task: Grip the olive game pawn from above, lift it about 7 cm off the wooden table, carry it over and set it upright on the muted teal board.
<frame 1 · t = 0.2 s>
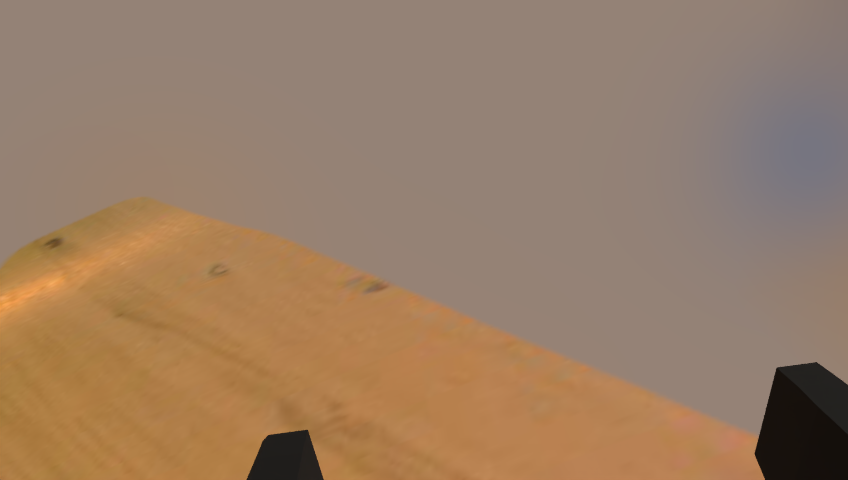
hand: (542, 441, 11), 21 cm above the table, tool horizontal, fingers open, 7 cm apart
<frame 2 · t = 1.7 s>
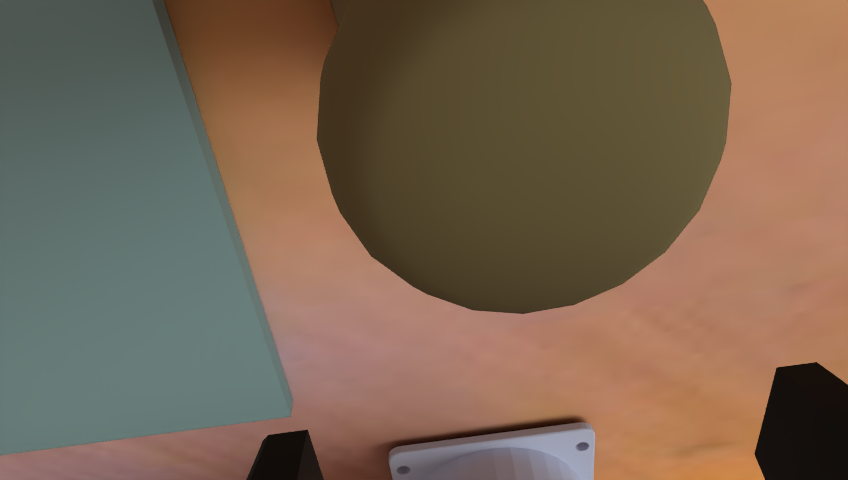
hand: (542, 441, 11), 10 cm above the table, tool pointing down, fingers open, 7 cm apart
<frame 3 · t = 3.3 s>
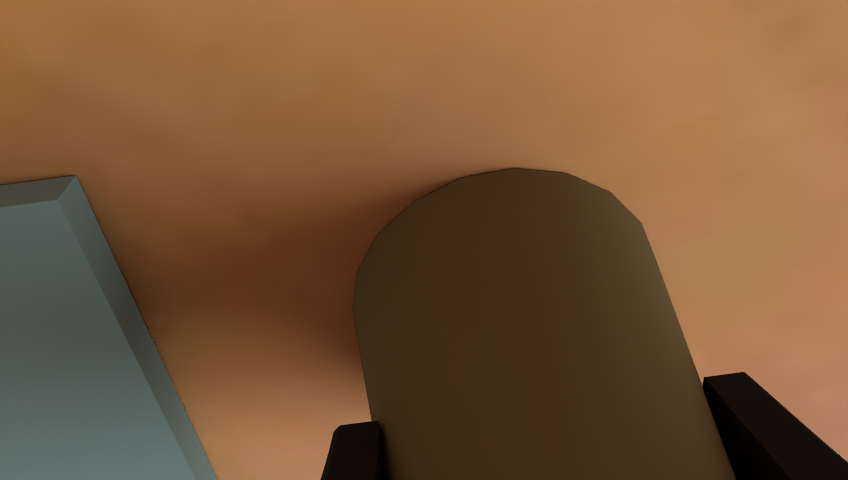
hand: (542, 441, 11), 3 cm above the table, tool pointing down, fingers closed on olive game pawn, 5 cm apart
olive game pawn: (503, 296, 14), on the table, touching gripper
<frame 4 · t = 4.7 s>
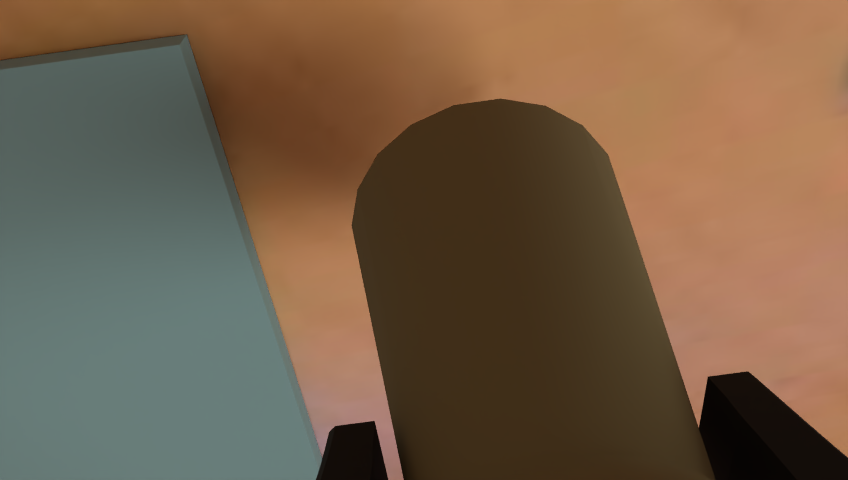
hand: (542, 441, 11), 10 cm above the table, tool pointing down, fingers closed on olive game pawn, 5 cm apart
olive game pawn: (485, 219, 15), point 4 cm above the table, touching gripper
teal board: (31, 341, 22), on the table
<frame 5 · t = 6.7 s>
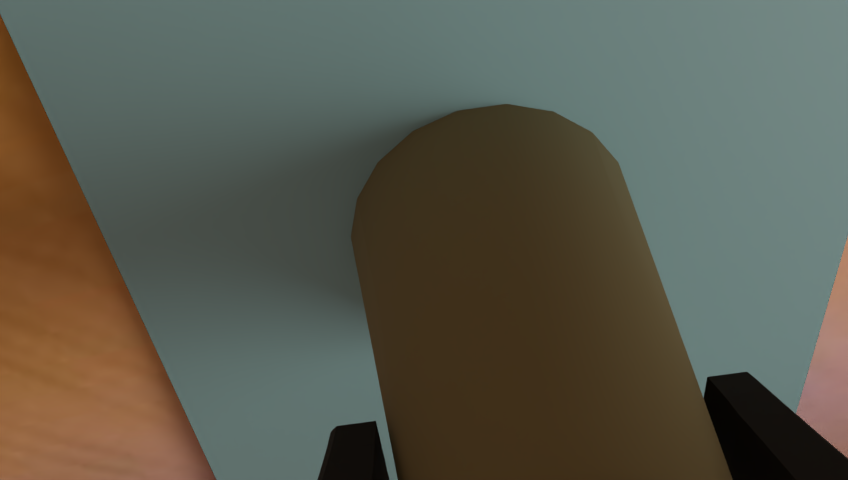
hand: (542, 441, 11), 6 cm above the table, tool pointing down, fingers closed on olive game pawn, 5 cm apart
olive game pawn: (490, 230, 15), point 1 cm above the table, touching gripper, teal board
teal board: (488, 235, 15), on the table
when the fingers open (5 cm above the table, at t = 7.4 s): olive game pawn stays where it is, resting on teal board.
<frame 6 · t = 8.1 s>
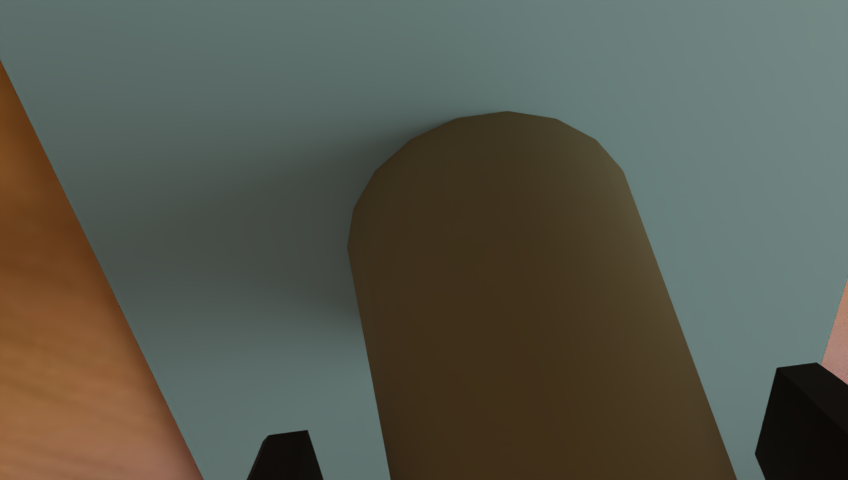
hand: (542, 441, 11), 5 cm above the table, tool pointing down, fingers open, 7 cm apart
olive game pawn: (490, 240, 14), point 1 cm above the table, touching teal board
teal board: (488, 244, 15), on the table
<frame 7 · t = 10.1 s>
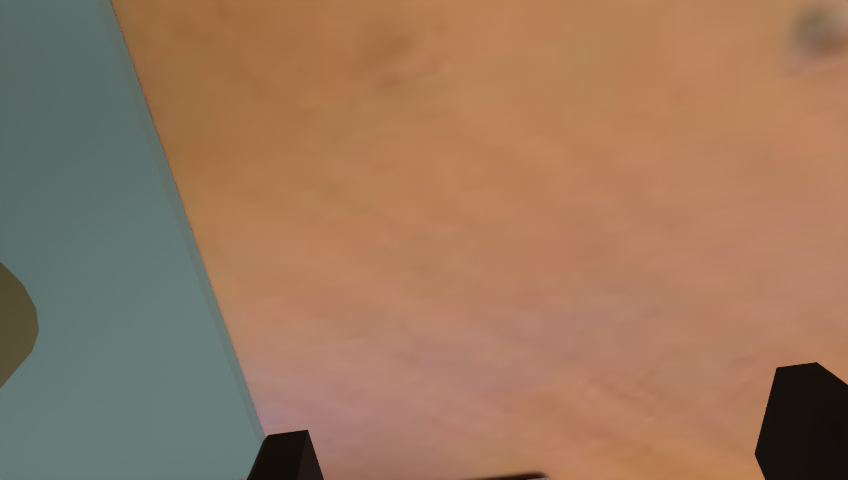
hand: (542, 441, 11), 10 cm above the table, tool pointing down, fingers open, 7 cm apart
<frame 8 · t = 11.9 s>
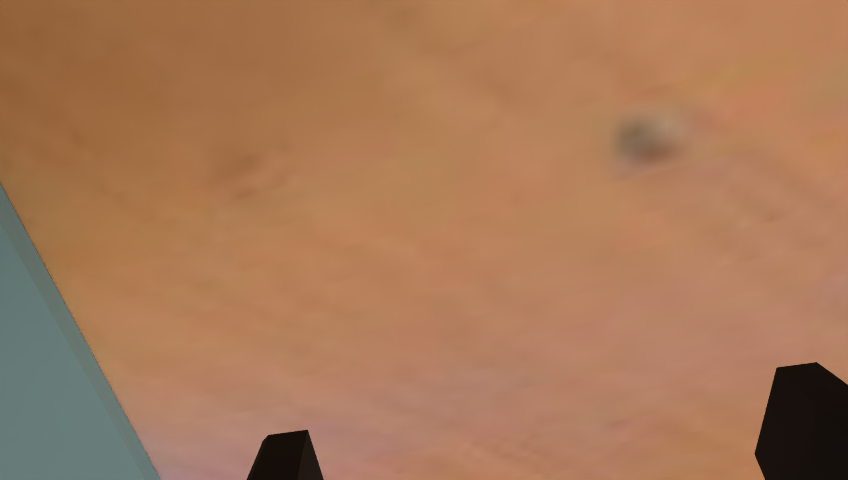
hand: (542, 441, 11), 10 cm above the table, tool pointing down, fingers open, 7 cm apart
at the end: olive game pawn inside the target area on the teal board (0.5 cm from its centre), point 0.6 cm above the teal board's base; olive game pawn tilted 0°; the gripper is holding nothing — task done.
